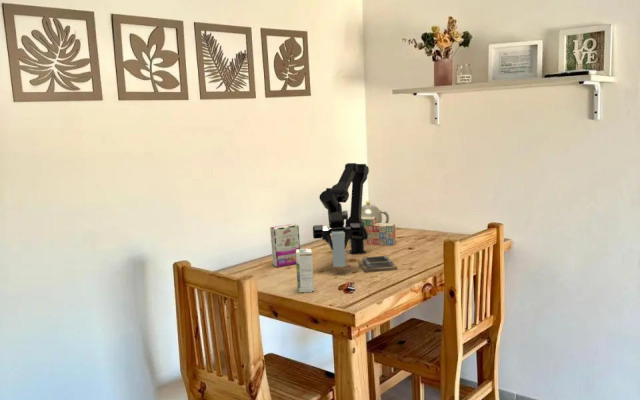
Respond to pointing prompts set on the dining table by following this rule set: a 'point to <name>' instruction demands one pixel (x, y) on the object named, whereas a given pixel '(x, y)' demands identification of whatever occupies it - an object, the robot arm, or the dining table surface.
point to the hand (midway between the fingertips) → (338, 249)
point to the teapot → (373, 212)
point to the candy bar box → (284, 244)
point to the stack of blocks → (378, 232)
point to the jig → (377, 264)
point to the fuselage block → (338, 248)
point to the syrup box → (304, 270)
